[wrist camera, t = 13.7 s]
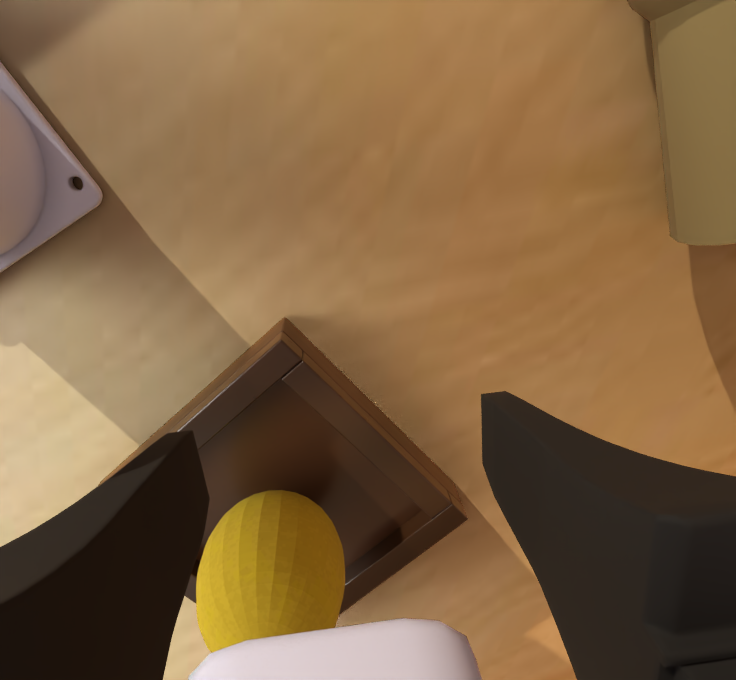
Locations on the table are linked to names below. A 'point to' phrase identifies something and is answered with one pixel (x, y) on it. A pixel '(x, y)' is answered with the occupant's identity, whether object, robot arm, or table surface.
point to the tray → (316, 457)
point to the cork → (696, 114)
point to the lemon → (269, 571)
